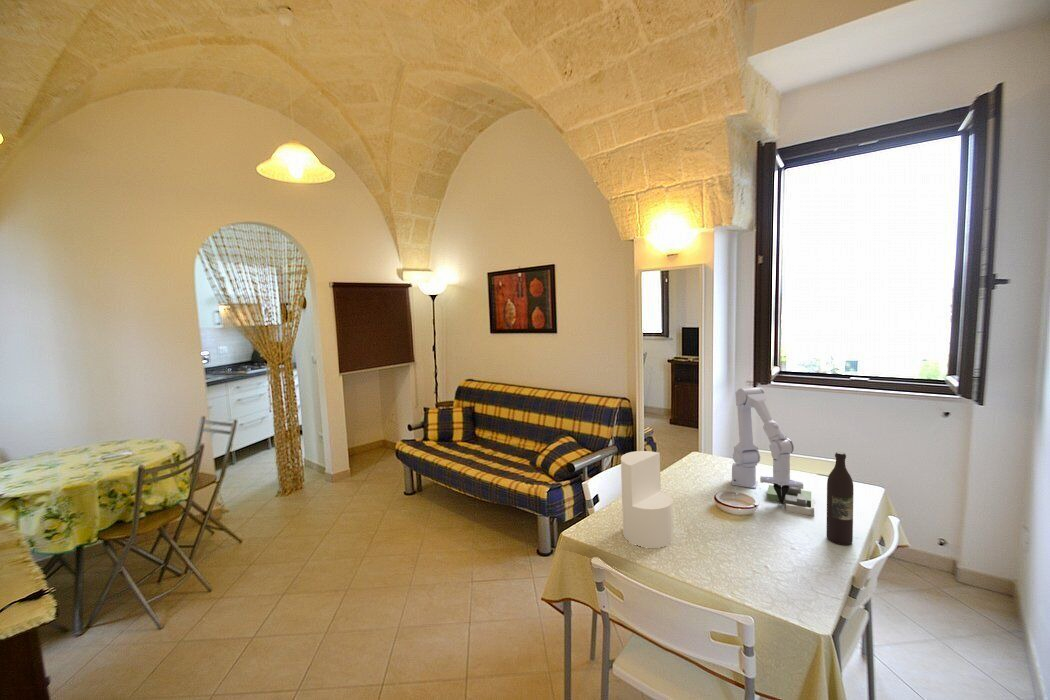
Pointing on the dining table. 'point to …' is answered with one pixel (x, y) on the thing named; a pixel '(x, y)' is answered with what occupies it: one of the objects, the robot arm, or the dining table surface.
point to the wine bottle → (840, 503)
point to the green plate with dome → (794, 492)
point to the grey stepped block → (796, 500)
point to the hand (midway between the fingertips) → (781, 502)
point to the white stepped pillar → (645, 501)
